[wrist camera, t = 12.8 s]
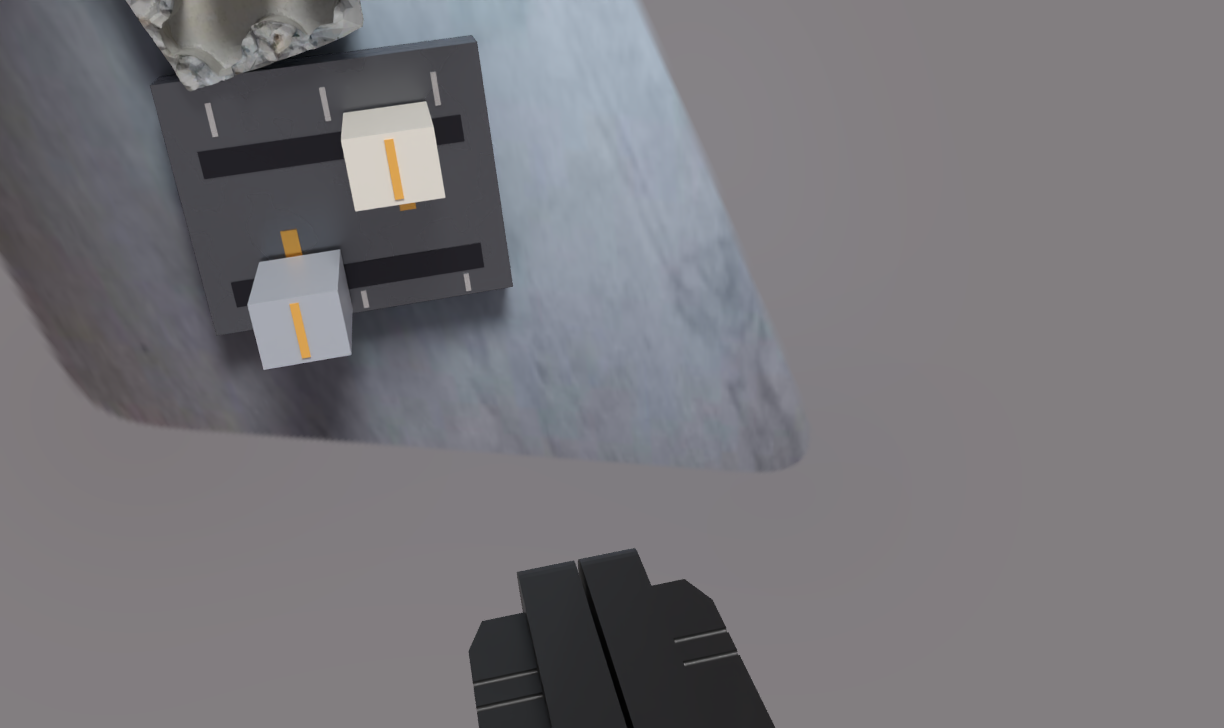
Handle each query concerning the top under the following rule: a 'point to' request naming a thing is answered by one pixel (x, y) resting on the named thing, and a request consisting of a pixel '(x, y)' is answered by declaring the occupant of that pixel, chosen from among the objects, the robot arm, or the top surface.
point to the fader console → (334, 176)
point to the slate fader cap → (301, 309)
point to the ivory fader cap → (391, 156)
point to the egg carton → (240, 32)
